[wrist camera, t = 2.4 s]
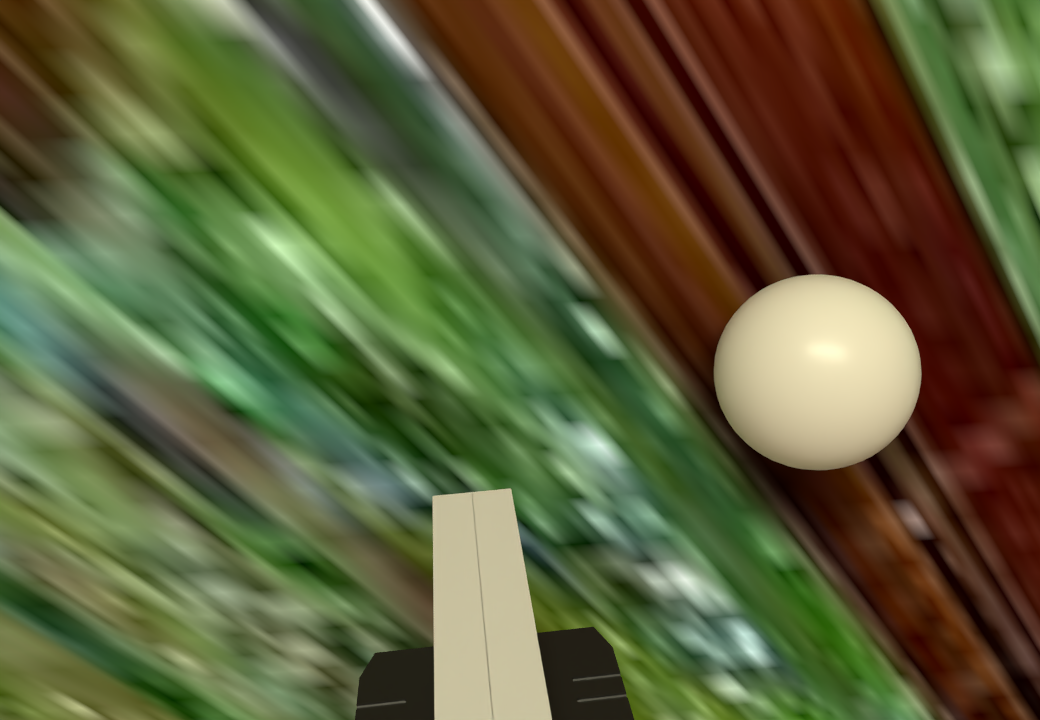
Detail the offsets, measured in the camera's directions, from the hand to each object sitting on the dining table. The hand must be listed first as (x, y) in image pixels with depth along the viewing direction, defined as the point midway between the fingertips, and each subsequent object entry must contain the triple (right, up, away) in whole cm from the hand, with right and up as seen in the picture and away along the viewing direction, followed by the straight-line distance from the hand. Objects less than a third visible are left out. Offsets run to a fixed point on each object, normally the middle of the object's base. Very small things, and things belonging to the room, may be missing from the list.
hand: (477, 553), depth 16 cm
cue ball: (+9, +3, +7) cm, 12 cm away
